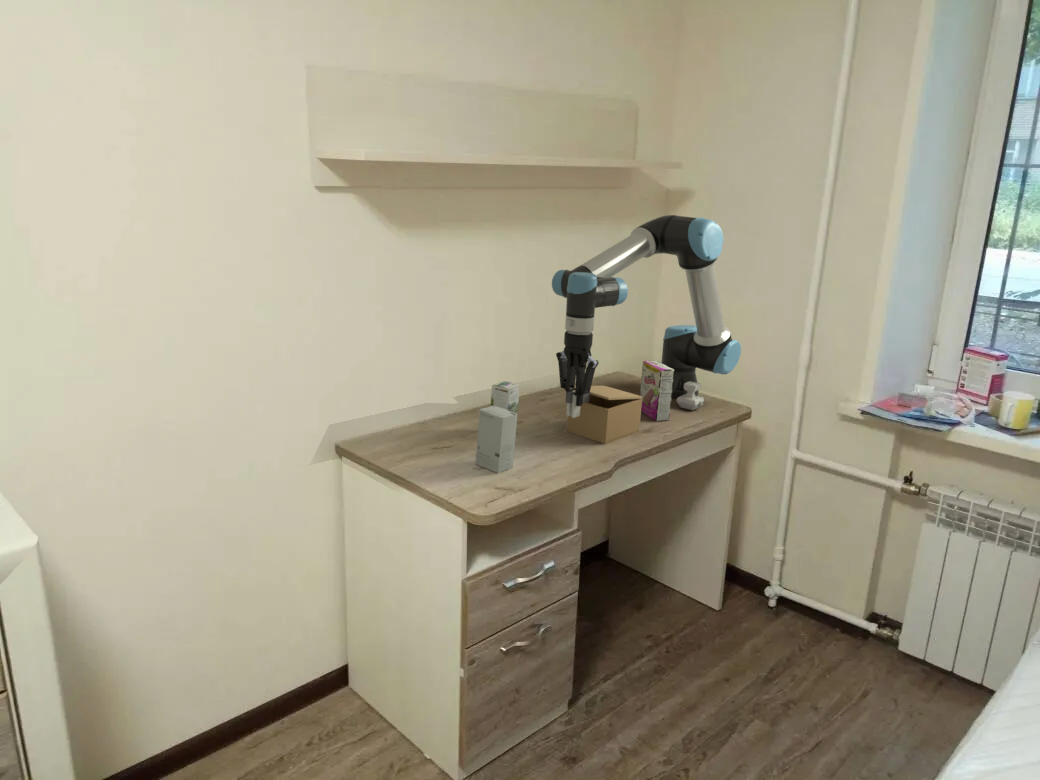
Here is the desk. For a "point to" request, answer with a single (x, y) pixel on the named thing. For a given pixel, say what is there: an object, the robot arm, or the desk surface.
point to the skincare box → (496, 438)
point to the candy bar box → (656, 390)
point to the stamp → (690, 397)
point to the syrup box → (505, 396)
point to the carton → (607, 419)
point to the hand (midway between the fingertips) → (573, 415)
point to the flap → (603, 394)
